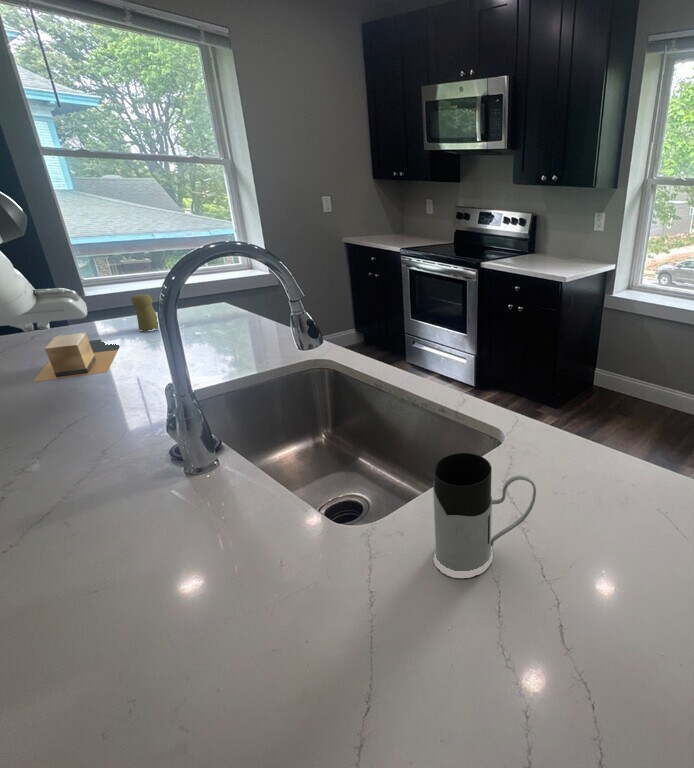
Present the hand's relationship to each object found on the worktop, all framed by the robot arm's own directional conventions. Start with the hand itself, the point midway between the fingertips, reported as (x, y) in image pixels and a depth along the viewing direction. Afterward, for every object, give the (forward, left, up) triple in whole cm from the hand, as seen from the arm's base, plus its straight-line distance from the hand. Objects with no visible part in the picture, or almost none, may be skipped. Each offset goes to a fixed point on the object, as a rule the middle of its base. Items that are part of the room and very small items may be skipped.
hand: (37, 327), depth 102 cm
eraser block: (0, +14, -15) cm, 21 cm away
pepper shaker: (+13, +43, -16) cm, 48 cm away
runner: (0, +23, -15) cm, 28 cm away
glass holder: (+63, -91, -16) cm, 111 cm away
